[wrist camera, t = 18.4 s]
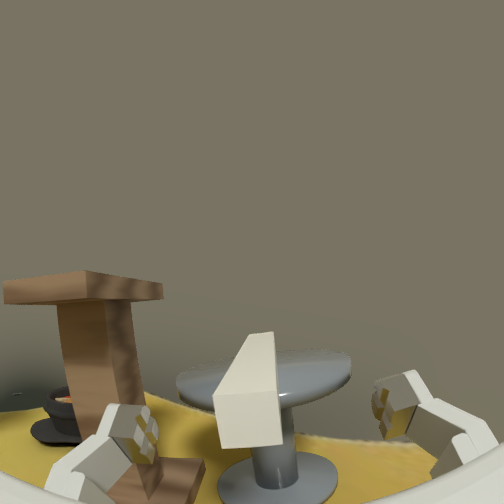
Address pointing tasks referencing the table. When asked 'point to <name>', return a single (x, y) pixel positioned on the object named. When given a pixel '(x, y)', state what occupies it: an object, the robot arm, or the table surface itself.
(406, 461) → the table surface
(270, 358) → the bar
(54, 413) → the casserole
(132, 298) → the walnut stand
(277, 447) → the cake stand
